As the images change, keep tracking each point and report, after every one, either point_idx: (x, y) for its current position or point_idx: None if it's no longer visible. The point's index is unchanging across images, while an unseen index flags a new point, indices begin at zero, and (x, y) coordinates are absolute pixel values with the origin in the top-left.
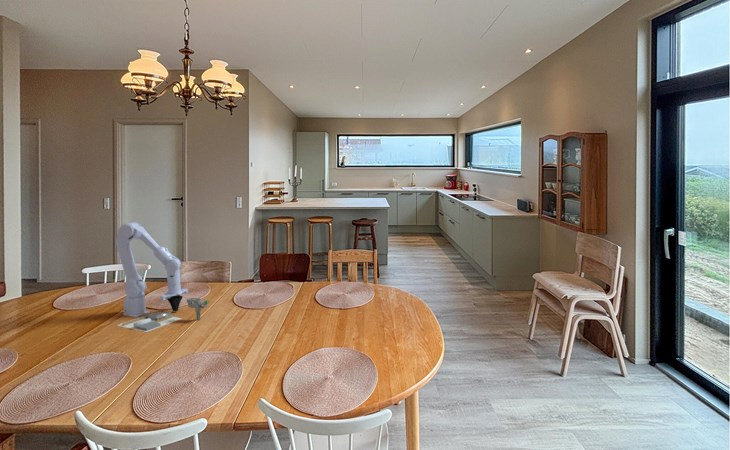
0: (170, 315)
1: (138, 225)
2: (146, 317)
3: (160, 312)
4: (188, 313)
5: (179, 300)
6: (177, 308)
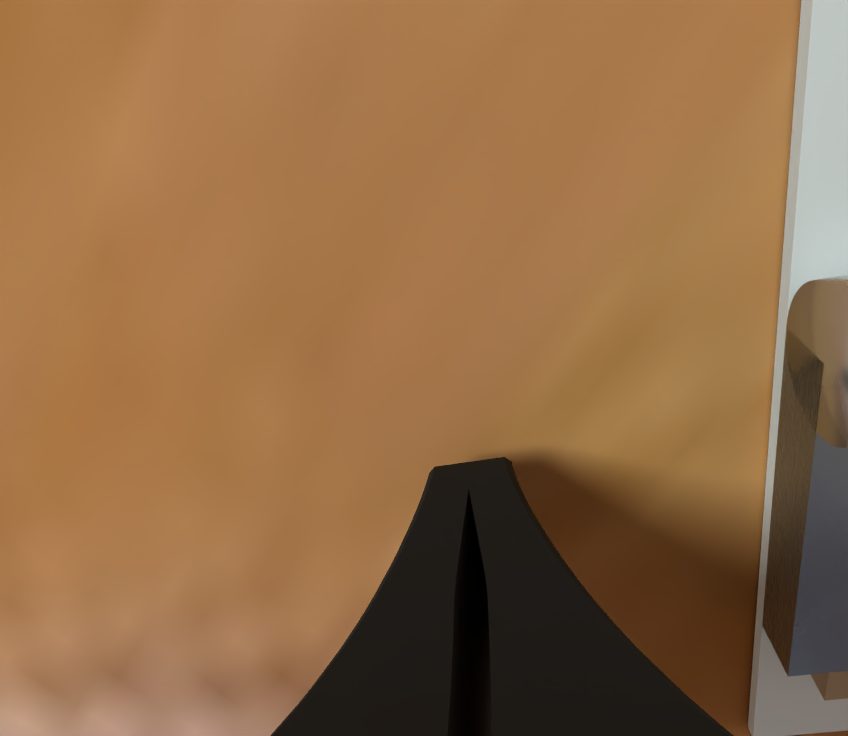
0: (845, 275)
1: None
2: None
3: (838, 609)
4: (271, 144)
5: (381, 723)
6: (458, 501)
